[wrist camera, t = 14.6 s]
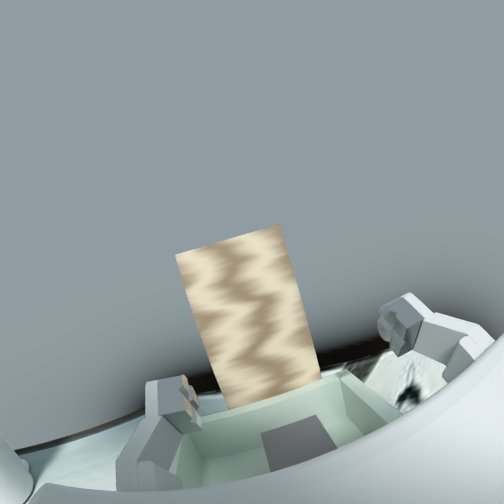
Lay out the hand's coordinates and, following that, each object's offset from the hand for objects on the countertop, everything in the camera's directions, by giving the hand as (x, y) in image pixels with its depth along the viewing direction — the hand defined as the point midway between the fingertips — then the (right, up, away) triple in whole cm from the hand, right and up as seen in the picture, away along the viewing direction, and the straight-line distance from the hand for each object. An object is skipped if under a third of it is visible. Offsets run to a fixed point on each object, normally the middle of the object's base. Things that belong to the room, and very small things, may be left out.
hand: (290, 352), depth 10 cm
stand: (+3, -20, +25) cm, 32 cm away
